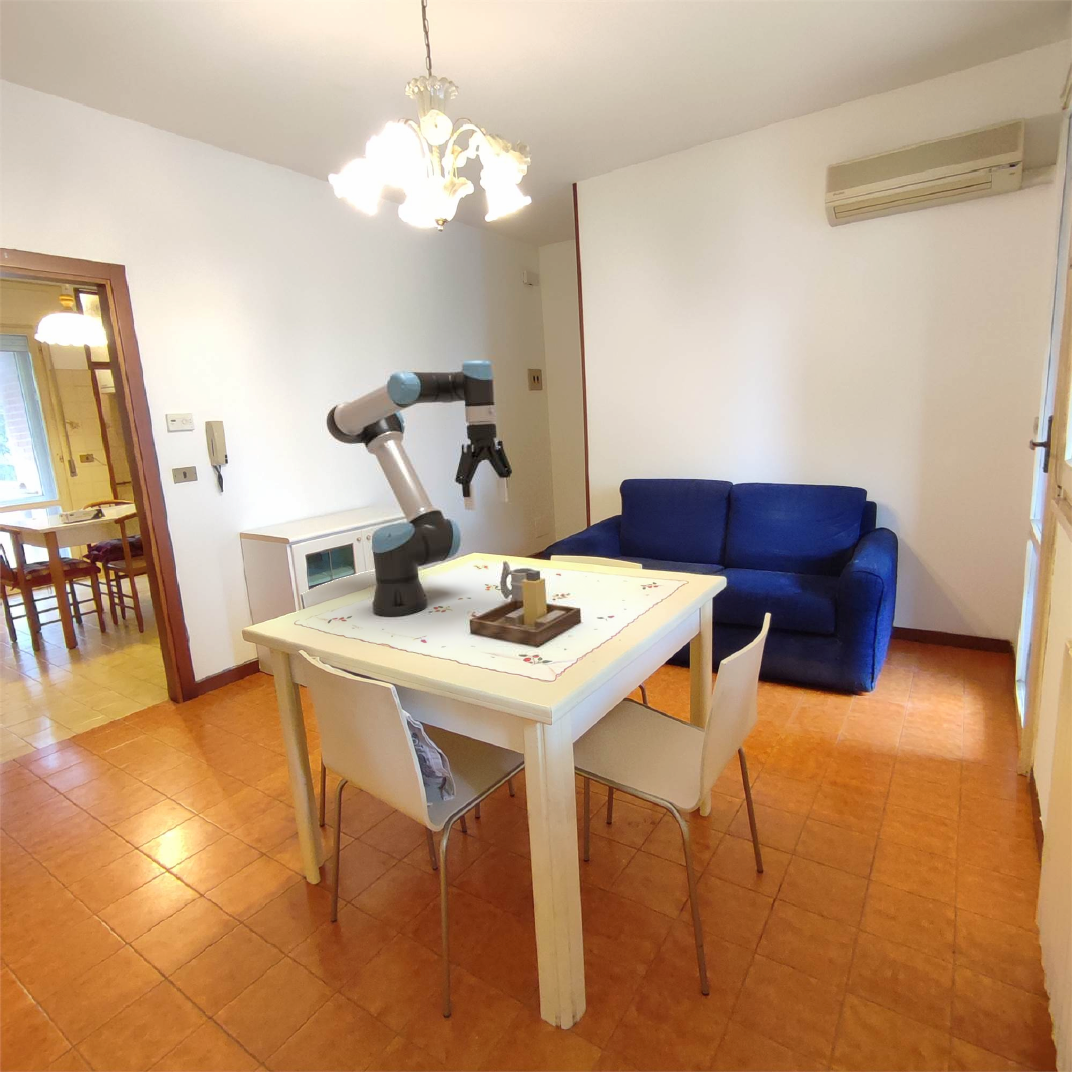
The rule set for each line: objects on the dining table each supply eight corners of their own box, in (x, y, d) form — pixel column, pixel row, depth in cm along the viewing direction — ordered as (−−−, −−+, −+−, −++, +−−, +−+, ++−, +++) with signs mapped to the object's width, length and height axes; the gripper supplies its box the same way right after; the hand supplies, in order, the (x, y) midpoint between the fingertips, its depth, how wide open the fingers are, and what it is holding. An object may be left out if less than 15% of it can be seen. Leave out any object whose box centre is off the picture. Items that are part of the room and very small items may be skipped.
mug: (528, 611, 166) (525, 567, 164) (493, 605, 173) (490, 563, 171) (544, 603, 172) (541, 561, 170) (510, 598, 179) (507, 557, 177)
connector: (524, 628, 151) (521, 572, 149) (534, 623, 155) (530, 568, 152) (538, 630, 149) (534, 574, 146) (547, 625, 152) (544, 570, 150)
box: (470, 633, 152) (469, 619, 151) (516, 611, 167) (516, 598, 166) (537, 647, 140) (536, 632, 140) (581, 621, 156) (580, 608, 155)
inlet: (505, 629, 152) (504, 615, 151) (527, 618, 159) (526, 605, 158) (545, 636, 145) (545, 622, 144) (566, 625, 152) (565, 611, 151)
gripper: (459, 425, 147) (466, 514, 151) (521, 420, 167) (526, 499, 171) (436, 426, 151) (443, 512, 155) (499, 421, 171) (504, 498, 175)
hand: (487, 505), depth 163 cm, fingers open, 13 cm apart
